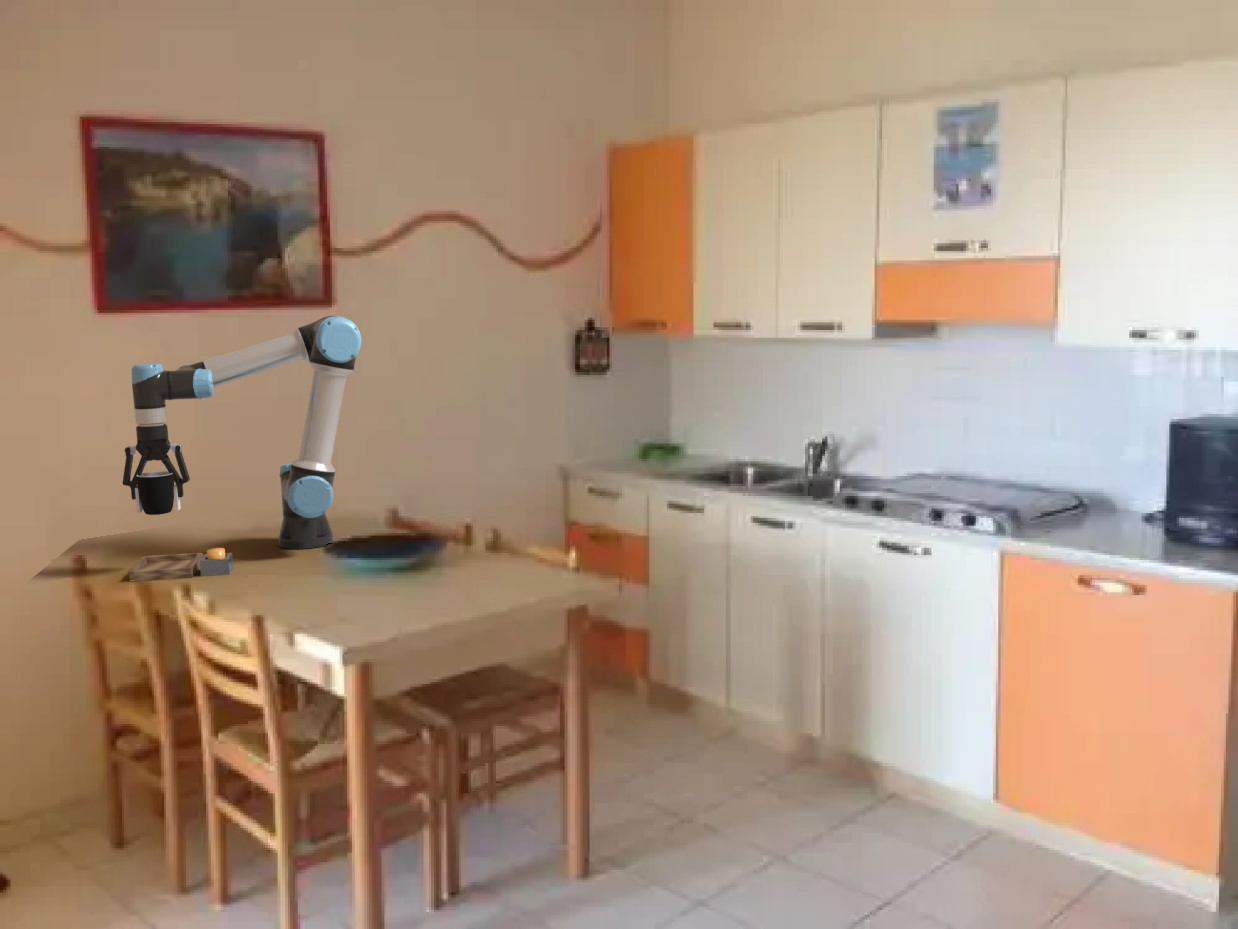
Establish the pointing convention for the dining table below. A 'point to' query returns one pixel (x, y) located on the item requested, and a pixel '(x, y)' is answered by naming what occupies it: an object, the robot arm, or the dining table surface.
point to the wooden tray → (166, 567)
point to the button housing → (216, 565)
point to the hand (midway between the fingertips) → (159, 510)
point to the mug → (156, 492)
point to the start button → (216, 553)
